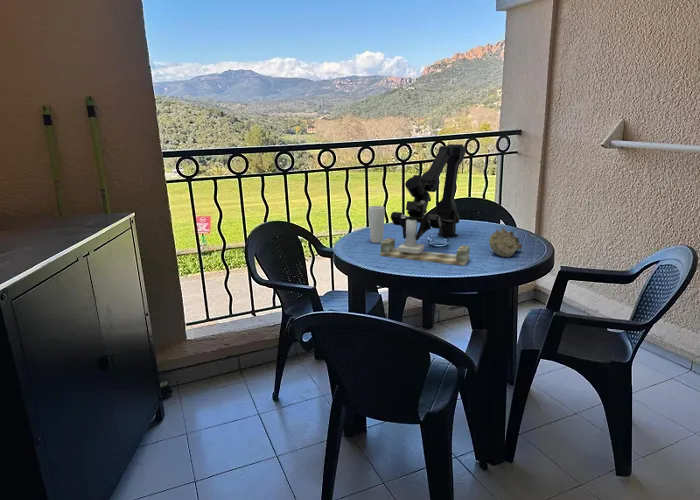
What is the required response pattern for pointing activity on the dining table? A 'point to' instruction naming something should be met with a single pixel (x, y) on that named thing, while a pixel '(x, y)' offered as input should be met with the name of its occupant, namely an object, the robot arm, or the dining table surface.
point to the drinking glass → (376, 223)
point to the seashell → (504, 243)
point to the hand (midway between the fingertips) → (410, 239)
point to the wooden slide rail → (425, 254)
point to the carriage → (411, 238)
